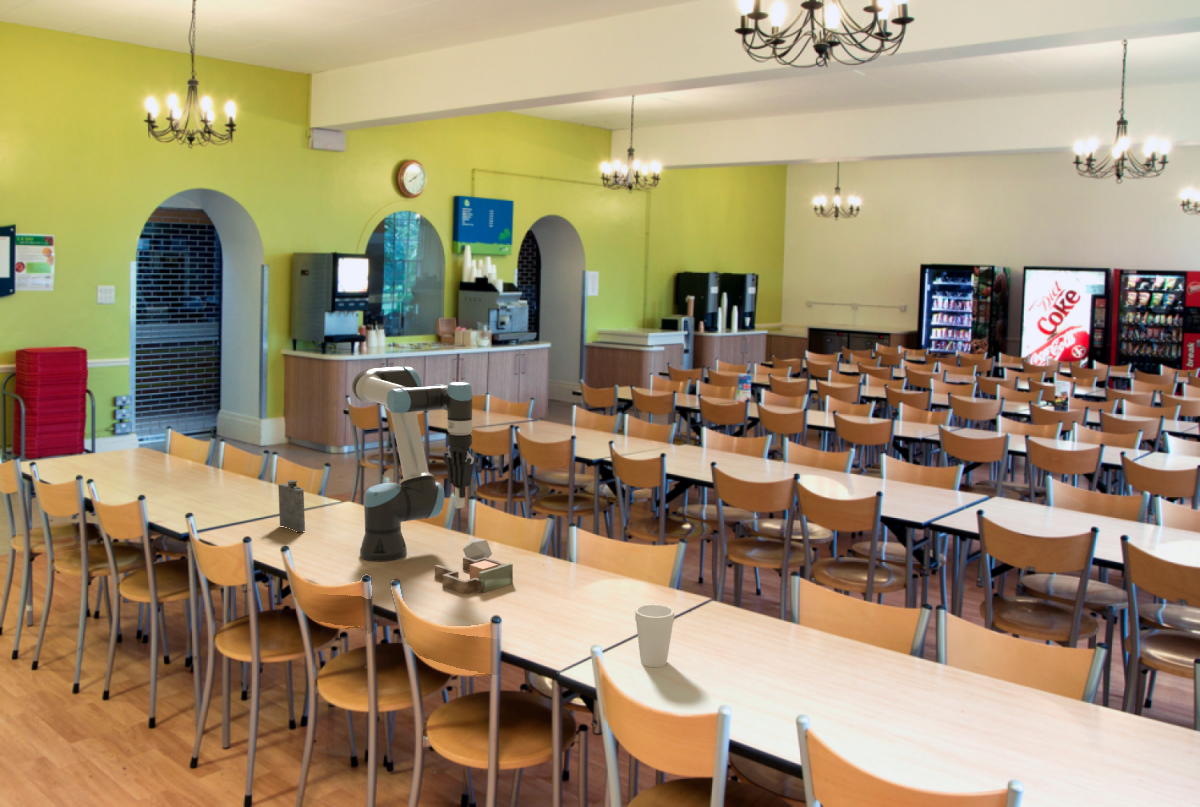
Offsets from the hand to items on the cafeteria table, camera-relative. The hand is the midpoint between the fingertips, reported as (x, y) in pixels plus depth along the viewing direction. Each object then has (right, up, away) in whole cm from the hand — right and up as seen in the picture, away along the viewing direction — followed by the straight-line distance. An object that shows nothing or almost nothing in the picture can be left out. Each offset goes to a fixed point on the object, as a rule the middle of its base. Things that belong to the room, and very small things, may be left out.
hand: (459, 507), depth 295 cm
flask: (-68, -14, +50) cm, 86 cm away
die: (+4, -20, +12) cm, 24 cm away
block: (+9, -22, -8) cm, 25 cm away
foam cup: (+57, -31, -64) cm, 91 cm away
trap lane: (+5, -22, -4) cm, 23 cm away
